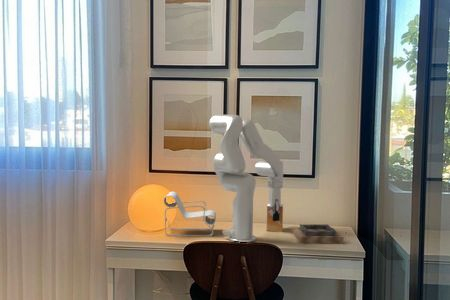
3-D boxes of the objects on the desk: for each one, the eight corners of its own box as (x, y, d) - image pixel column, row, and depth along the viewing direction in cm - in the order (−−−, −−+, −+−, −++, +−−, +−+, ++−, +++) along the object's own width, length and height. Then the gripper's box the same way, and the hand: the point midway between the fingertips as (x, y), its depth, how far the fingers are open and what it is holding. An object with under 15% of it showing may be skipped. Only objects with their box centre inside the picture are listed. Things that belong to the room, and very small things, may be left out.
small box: (266, 231, 223) (266, 205, 223) (267, 228, 230) (267, 203, 229) (282, 232, 222) (282, 206, 221) (282, 229, 228) (283, 204, 228)
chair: (167, 229, 226) (167, 191, 225) (215, 229, 226) (216, 191, 225) (163, 236, 213) (163, 195, 211) (215, 236, 213) (215, 196, 211)
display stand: (300, 243, 201) (300, 232, 201) (292, 233, 219) (292, 223, 219) (343, 243, 202) (343, 232, 202) (332, 233, 220) (332, 223, 220)
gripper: (265, 182, 233) (265, 215, 234) (270, 187, 216) (269, 223, 217) (279, 182, 233) (279, 215, 234) (285, 187, 216) (285, 223, 217)
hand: (274, 218), depth 226 cm, fingers closed on small box, 7 cm apart
